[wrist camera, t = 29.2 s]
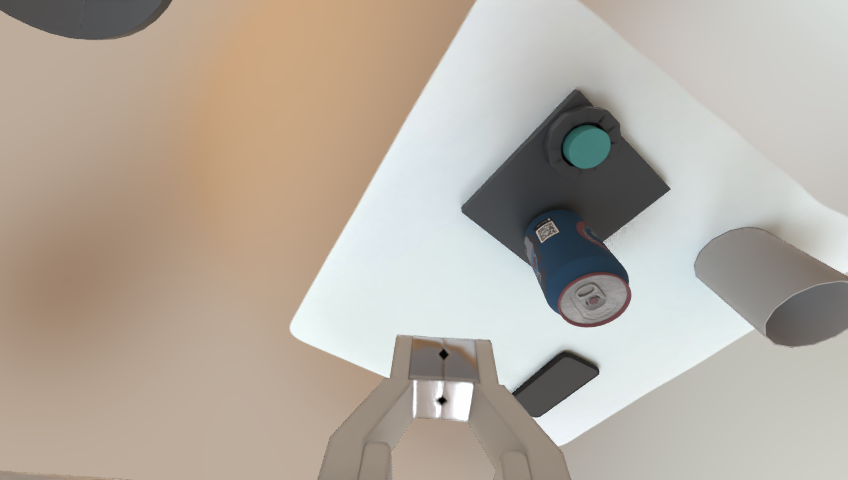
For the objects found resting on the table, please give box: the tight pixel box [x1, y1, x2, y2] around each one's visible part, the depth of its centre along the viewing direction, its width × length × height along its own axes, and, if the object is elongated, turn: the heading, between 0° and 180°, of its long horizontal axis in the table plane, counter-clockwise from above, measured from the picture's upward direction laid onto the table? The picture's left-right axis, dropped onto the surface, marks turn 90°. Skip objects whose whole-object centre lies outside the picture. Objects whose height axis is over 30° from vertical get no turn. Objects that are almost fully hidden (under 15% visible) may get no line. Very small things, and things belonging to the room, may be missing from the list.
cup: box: [694, 227, 848, 348], centre depth 35 cm, size 8×8×10 cm
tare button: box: [563, 125, 611, 169], centre depth 30 cm, size 4×4×2 cm
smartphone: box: [512, 353, 599, 417], centre depth 52 cm, size 7×1×15 cm
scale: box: [461, 90, 670, 267], centre depth 35 cm, size 15×16×3 cm
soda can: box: [523, 210, 631, 327], centre depth 32 cm, size 7×7×12 cm
